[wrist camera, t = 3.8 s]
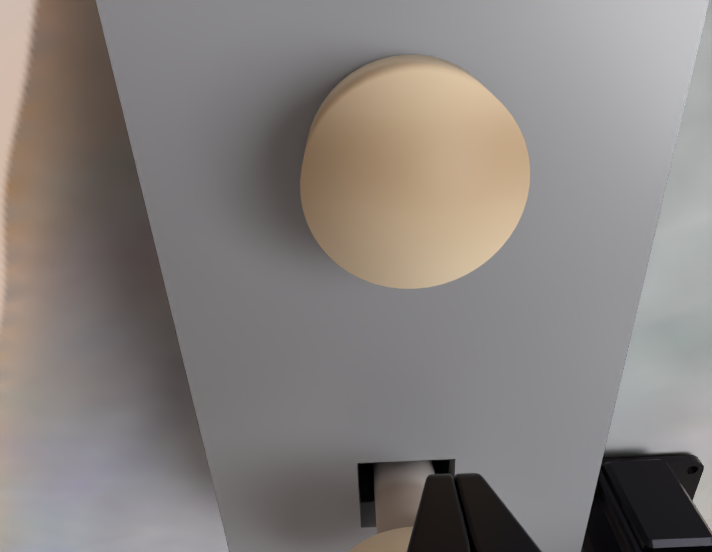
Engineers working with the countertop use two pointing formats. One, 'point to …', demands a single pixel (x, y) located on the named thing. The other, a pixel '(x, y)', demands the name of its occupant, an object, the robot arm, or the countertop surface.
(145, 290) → the countertop surface
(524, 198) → the near cap
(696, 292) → the countertop surface
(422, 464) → the far cap
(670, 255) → the countertop surface
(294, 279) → the housing
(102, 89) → the countertop surface
